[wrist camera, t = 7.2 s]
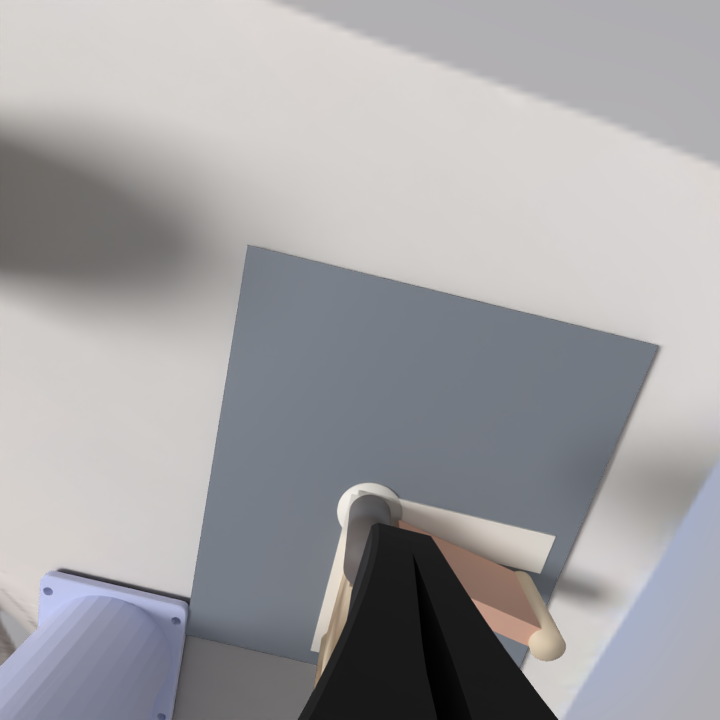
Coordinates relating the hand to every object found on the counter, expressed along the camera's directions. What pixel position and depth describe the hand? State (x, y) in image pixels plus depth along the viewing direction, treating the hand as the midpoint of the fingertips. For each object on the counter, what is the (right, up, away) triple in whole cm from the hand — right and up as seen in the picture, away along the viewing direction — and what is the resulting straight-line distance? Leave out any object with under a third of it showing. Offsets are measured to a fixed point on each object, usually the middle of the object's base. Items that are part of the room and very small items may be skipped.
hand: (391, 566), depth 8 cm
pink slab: (+4, -5, +10) cm, 12 cm away
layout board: (+1, -3, +10) cm, 10 cm away
